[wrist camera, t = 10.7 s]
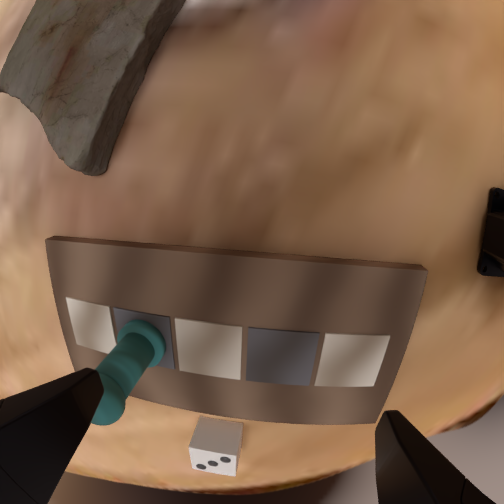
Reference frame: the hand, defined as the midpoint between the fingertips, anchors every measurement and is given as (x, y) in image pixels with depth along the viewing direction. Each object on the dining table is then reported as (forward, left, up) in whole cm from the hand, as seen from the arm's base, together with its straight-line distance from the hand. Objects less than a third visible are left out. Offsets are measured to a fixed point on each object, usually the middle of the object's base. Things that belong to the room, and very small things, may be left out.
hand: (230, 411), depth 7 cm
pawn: (+8, +6, -10) cm, 14 cm away
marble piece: (+15, -16, -12) cm, 25 cm away
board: (+3, +6, -12) cm, 13 cm away
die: (+3, +17, -12) cm, 21 cm away
